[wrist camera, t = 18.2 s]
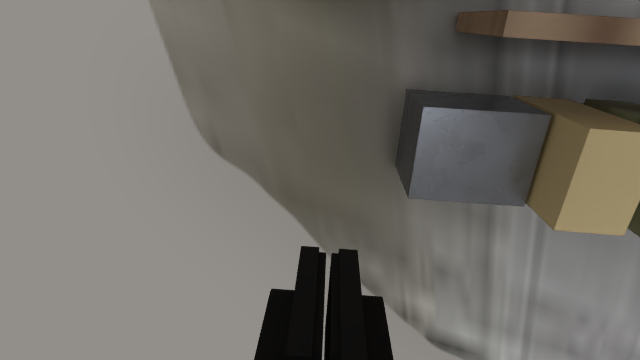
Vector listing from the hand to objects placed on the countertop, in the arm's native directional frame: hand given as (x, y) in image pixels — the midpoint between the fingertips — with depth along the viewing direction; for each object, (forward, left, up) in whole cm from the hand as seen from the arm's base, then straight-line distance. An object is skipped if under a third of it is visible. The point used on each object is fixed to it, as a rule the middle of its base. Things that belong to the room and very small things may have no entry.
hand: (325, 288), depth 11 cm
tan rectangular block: (-15, 0, -19) cm, 24 cm away
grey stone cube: (-9, 0, -19) cm, 21 cm away
